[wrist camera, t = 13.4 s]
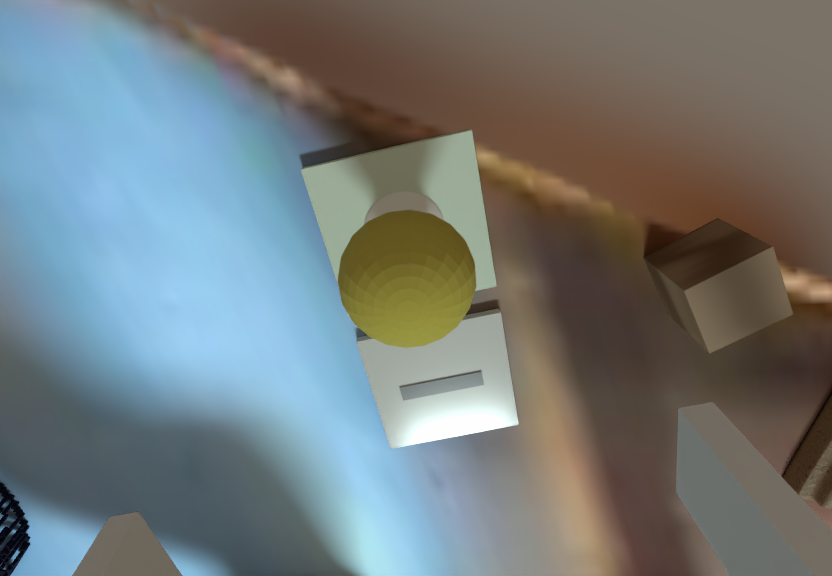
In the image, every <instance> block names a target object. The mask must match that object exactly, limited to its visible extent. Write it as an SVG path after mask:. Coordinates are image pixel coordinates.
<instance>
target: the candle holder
mask: <svg viewBox="0 0 832 576" xmlns="http://www.w3.org/2000/svg"><path fill="white" fill-rule="evenodd" d="M782 478H783V479H784V480H785V481H786V482H787V483H788V484H789V485H790V486H791V487H792V488H793V490H794V491H795V492H796V493H797V494H798V495H799V496H800V497H801V498H802V499H803V500H809V501H816V502H817V503H818V504H819V505H820V506H822V507H825V508H828V509H831V510H832V394H831V395H830V397H829V398H828V400H827V401H826V403H825V405H824V406H823V408H822V410H821V411H820V413H819V415H818V416H817V418H816V420H815V421H814V423H813V425H812V426H811V428H810V430H809V431H808V433H807V435H806V436H805V438H804V440H803V441H802V443H801V445H800V447H799V448H798V450H797V452H796V453H795V455H794V457H793V458H792V460H791V462H790V463H789V465H788V467H787V469H786V470H785V472H784V474H783V476H782Z"/></svg>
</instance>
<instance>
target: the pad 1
mask: <svg viewBox="0 0 832 576" xmlns="http://www.w3.org/2000/svg"><path fill="white" fill-rule="evenodd" d="M301 172H302V175H303V178H304V181H305V184H306V187H307V190H308V193H309V197H310V200H311V203H312V206H313V209H314V212H315V215H316V218H317V221H318V224H319V228H320V231H321V234H322V237H323V240H324V243H325V246H326V249H327V252H328V255H329V259H330V262H331V265H332V268H333V271H334V274H335V277H336V280H337V283H338V274H339V267H340V260H341V256H342V254H343V252H344V250H345V248H346V247H347V245H348V243H349V241H350V239H351V237H352V235H354V234H355V233H356V232H357V231H358V230H359V229H360V228H361V227H362V226H363V225H364V224H365V223H367V222H368V221H370V220H372V219H374V218H376V217H378V216H381V215H383V214H385V213H387V212H394V211H402V210H414V211H420V212H425V213H430V214H433V215H435V216H437V217H438V218H440V219H442V220H444V221H446V222H448V223H449V224H451V225H452V226H453V227H454V229H455V230H456V231H457V232H458V233H459V234H460V235H461V236H462V237H463V238H464V239H465V241H466V243H467V245H468V247H469V250H470V252H471V254H472V257H473V259H474V262H475V272H476V289H475V291H477V290H482V289H486V288H491V287H496V279H495V273H494V267H493V260H492V254H491V248H490V241H489V235H488V229H487V222H486V216H485V210H484V204H483V197H482V191H481V185H480V178H479V172H478V166H477V159H476V153H475V147H474V140H473V134H472V130H471V129H467V130H463V131H459V132H454V133H450V134H445V135H441V136H437V137H432V138H428V139H424V140H419V141H415V142H411V143H406V144H402V145H398V146H393V147H389V148H385V149H380V150H376V151H371V152H367V153H363V154H358V155H354V156H350V157H345V158H341V159H337V160H332V161H328V162H324V163H319V164H315V165H311V166H306V167H303V168H302V169H301ZM338 287H339V285H338ZM347 314H348V313H347ZM348 317H350V316H349V314H348Z"/></svg>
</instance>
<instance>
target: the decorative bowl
mask: <svg viewBox="0 0 832 576" xmlns="http://www.w3.org/2000/svg"><path fill="white" fill-rule="evenodd" d="M3 486H4V484H2V483H0V493H2V495H1V496H3V497H4V498H3V499H2V500H1V502H0V513H1V512H2V513H1V514H2V515H4V516H3V517H2V519H1V520H0V526H1V525H2V523H3V522H4V521H5V520H6V519H7V517H8V514H6V513H7V512H8V510H9V509H10V508H11V509H13V510H14V511H13V512H15V513H16V514H15V515H17V516H18V517H17V519H16V520H15V521H14V522H13V523H12V525H11V526H10V527H9V528H8V527H6V526H5V528H4V529H3V530H2V531H1V532H0V545H1V544H2V543H3V541H4V540H5V539H6V538H7V536H8V535H9V534H10V532H11V531H12V530H13V529H14V527H15V526H16V525H17V523H18V522H19V521H20V520H21V521H20V522H19V524H21V526H20V527H19V529H18V530H17V531H16V533H15V534H14V535H13V536H12V538H11V539H10V541H9V542H8V543H7V544H6V546H5V547H4V548H3V550H2V551H1V552H0V565H1V564H2V565H1V566H0V576H10V575H11V574H12V572H13V571H14V569H15V568H16V566H17V564H18V563H19V561H20V560H21V558H22V556H23V555H24V553H25V552H26V550H27V548H28V547H29V545H30V543H27V542H28V541H29V539H30V537H28V534H26V531H27V529H28V528H29V526H27V523H28V521H26V520H23V519H22V518H23V516H24V515H25V513H22V511H23V510H20V508H21V507H18V504H19V502H17V501H15V500H13V498H14V495H11V494H9V493H8V492H9V491H7V490H6V487H3ZM7 500H11V502H10V503H9V504H8V506H7V507H6V508H5V509H4V508H2V507H1V506H2V505H3V504H4V503H5V502H6V501H7ZM3 509H4V510H3ZM23 534H24V535H23ZM22 536H23V537H22ZM21 537H22V538H21ZM20 538H21V539H20ZM19 540H20V541H19ZM18 541H19V542H18ZM17 542H18V543H17ZM21 544H22V545H21ZM15 545H16V546H15ZM20 545H21V547H20ZM14 546H15V547H14ZM19 547H20V549H19V550H18V551H20V553H19V554H18V556H17V557H16V559H15V560H14V561H13V563H12V564H11V565H9V566H8V568H7V570H6V571H5V570H3V568H4V567H5V565H6V564H7V563H8V562H9V560H10V559H11V557H12V556H13V555H14V553H15V552H16V551H17V549H18V548H19ZM12 549H13V550H12ZM11 550H12V551H11ZM9 553H10V554H9ZM6 557H7V558H6ZM5 558H6V559H5ZM3 561H4V562H3ZM2 562H3V563H2ZM1 571H2V572H1Z"/></svg>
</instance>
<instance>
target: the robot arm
mask: <svg viewBox="0 0 832 576" xmlns="http://www.w3.org/2000/svg"><path fill="white" fill-rule="evenodd" d="M676 493H677V494H678V496H679V497H680V499H681V501H682V502H683V504H684V505H685V507H686V508H687V510H688V511H689V513H690V514H691V516H692V517H693V519H694V521H695V522H696V524H697V525H698V527H699V528H700V530H701V531H702V533H703V534H704V536H705V538H706V539H707V541H708V542H709V544H710V545H711V547H712V548H713V550H714V551H715V553H716V555H717V556H718V558H719V559H720V561H721V562H722V564H723V565H724V567H725V568H726V570H727V572H728V573H729V575H730V576H832V531H831V530H830V528H829V527H828V526H827V525H826V524H825V523H824V522H823V521H822V520H821V519H820V518H819V517H818V515H817V514H816V513H815V512H814V511H813V510H812V509H811V508H810V507H809V506H808V505H807V504H806V503H805V501H804V500H803V499H802V498H801V497H800V496H799V495H798V494H797V493H796V492H795V491H794V490H793V488H792V487H791V486H790V485H789V484H788V483H787V482H786V481H785V480H784V479H783V478H782V477H781V475H780V474H779V473H778V472H777V471H776V470H775V469H774V468H773V467H772V466H771V465H770V464H769V463H768V461H767V460H766V459H765V458H764V457H763V456H762V455H761V454H760V453H759V452H758V451H757V450H756V448H755V447H754V446H753V445H752V444H751V443H750V442H749V441H748V440H747V439H746V438H745V437H744V435H743V434H742V433H741V432H740V431H739V430H738V429H737V428H736V427H735V426H734V425H733V424H732V423H731V421H730V420H729V419H728V418H727V417H726V416H725V415H724V414H723V413H722V412H721V411H720V410H719V408H718V407H717V406H716V405H715V404H714V403H713V402H710V403H705V404H700V405H694V406H689V407H684V408H679V414H678V447H677V480H676ZM72 576H182V575H181V573H180V572H179V570H178V569H177V567H176V566H175V564H174V563H173V561H172V560H171V558H170V557H169V556H168V554H167V553H166V551H165V550H164V548H163V547H162V545H161V544H160V542H159V541H158V539H157V538H156V536H155V535H154V533H153V532H152V531H151V529H150V528H149V526H148V525H147V523H146V522H145V520H144V519H143V517H142V516H141V514H140V513H139V512H133V513H128V514H123V515H118V516H112V517H109V518H108V520H107V521H106V523H105V525H104V526H103V528H102V529H101V531H100V533H99V534H98V536H97V537H96V539H95V540H94V542H93V544H92V545H91V547H90V548H89V550H88V552H87V553H86V555H85V556H84V558H83V560H82V561H81V563H80V564H79V566H78V567H77V569H76V571H75V572H74V574H73V575H72Z"/></svg>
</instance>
